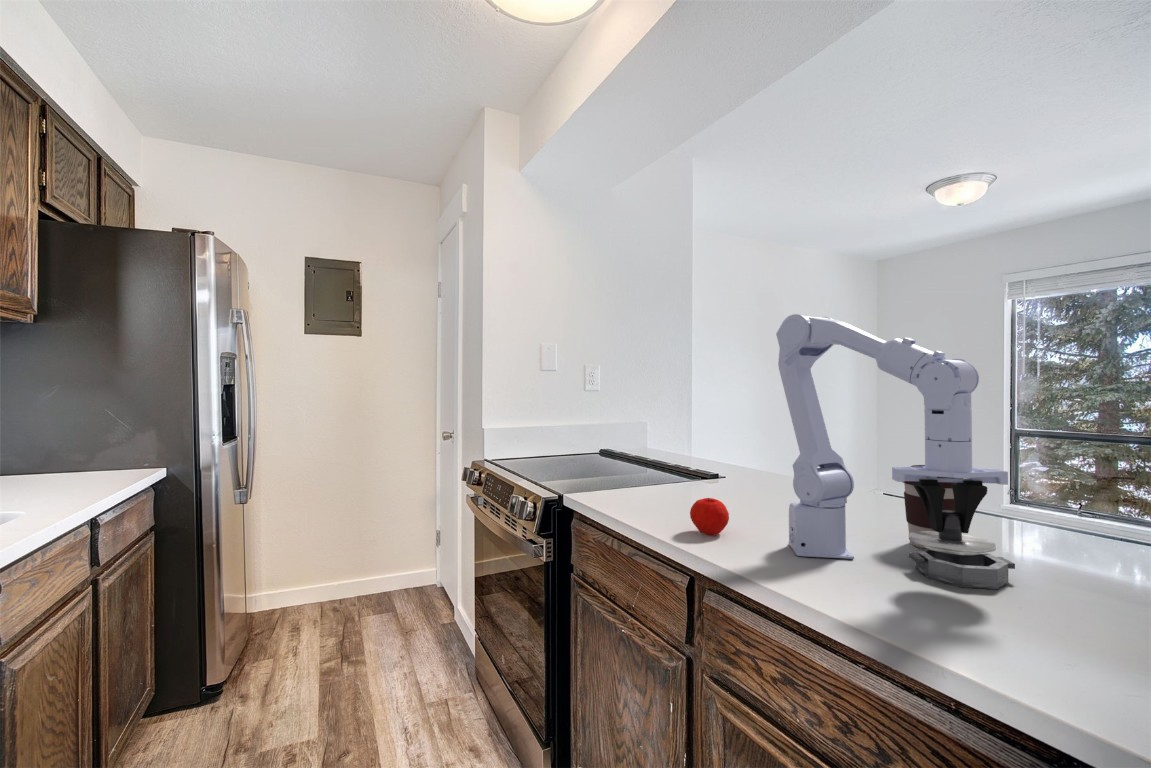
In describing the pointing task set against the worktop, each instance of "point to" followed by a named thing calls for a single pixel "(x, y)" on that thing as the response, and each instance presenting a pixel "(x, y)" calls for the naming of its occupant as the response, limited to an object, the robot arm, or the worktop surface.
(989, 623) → the worktop surface
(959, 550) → the lid
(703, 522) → the apple
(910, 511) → the coffee cup
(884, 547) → the worktop surface
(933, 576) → the pot
